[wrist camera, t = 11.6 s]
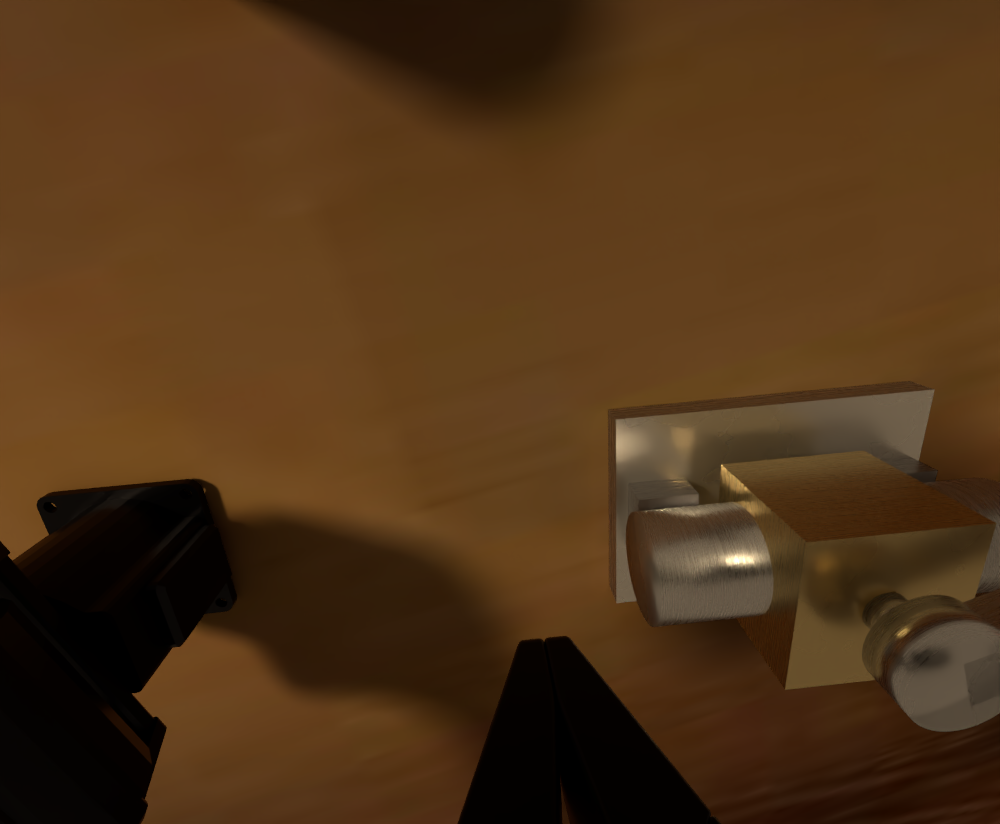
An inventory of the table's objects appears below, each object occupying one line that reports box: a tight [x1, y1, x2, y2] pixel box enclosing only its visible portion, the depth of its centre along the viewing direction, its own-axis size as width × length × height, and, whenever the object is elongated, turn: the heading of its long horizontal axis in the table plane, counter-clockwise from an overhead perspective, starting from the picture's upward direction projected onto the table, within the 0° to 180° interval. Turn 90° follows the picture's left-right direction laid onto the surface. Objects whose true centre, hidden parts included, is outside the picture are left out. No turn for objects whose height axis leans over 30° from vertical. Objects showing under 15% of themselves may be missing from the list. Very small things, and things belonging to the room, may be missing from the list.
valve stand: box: [608, 381, 1000, 690], centre depth 19 cm, size 13×9×9 cm
